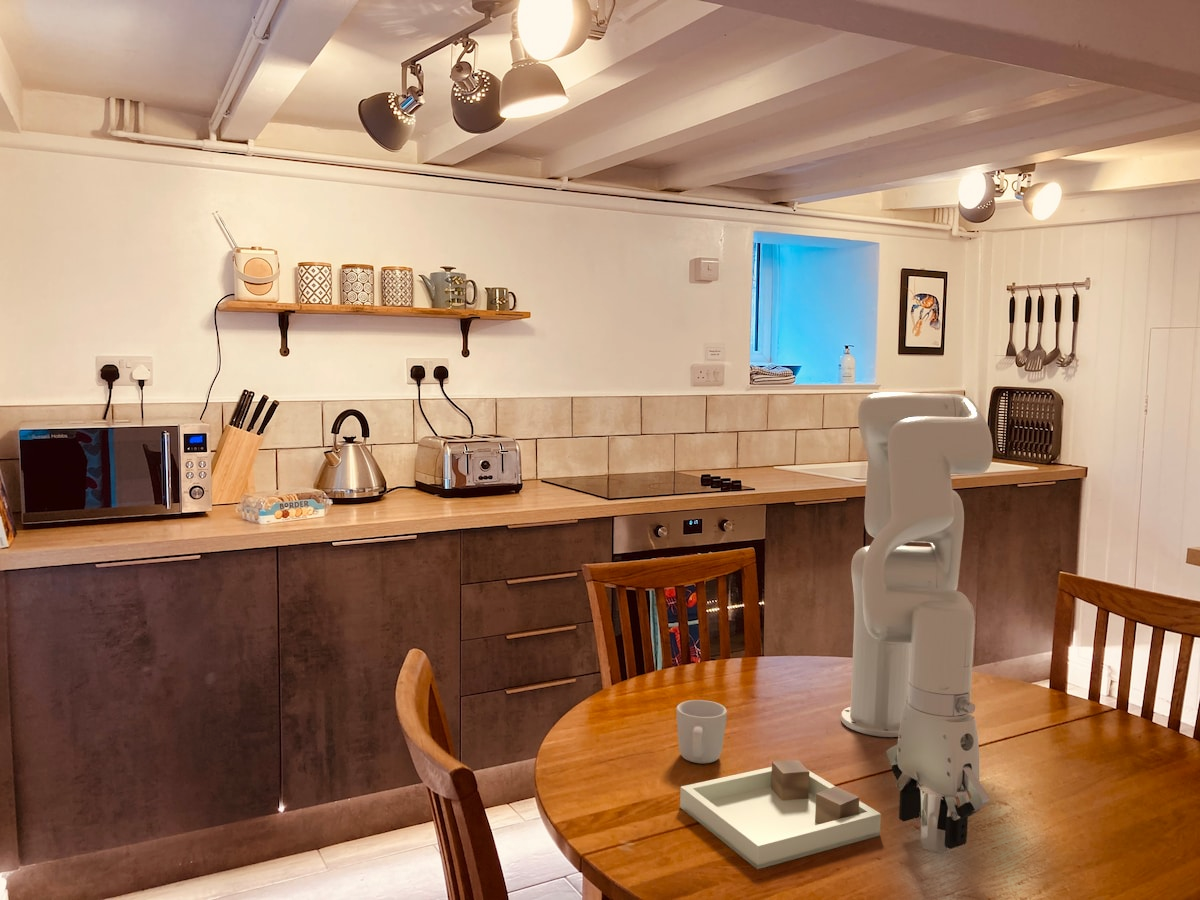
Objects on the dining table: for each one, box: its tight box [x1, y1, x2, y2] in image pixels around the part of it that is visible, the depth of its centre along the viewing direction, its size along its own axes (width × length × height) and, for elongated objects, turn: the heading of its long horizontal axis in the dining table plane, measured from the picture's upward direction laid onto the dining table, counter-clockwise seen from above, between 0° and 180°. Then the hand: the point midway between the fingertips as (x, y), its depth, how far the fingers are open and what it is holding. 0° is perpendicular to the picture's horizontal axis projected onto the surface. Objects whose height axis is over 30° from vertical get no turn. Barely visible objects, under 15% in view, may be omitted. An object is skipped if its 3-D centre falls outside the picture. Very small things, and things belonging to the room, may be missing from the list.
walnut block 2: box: [815, 785, 860, 824], centre depth 126 cm, size 4×4×4 cm
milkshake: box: [914, 772, 950, 853], centre depth 122 cm, size 4×5×10 cm
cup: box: [675, 699, 728, 764], centre depth 147 cm, size 11×8×8 cm
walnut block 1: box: [771, 759, 810, 801], centre depth 135 cm, size 4×4×4 cm
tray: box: [679, 766, 882, 870], centre depth 128 cm, size 20×18×3 cm
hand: (931, 830), depth 122 cm, fingers open, 7 cm apart
